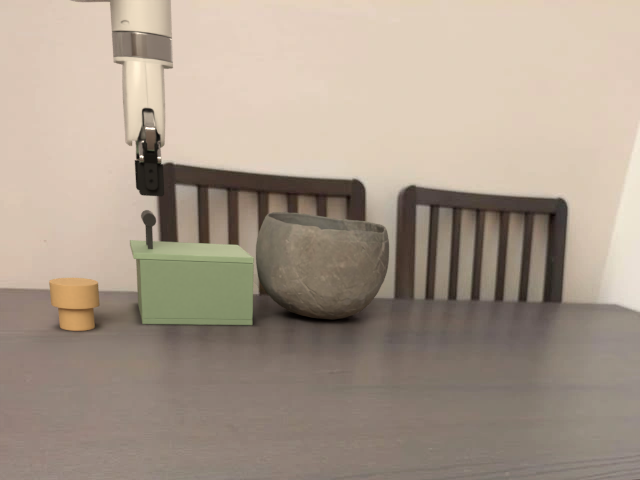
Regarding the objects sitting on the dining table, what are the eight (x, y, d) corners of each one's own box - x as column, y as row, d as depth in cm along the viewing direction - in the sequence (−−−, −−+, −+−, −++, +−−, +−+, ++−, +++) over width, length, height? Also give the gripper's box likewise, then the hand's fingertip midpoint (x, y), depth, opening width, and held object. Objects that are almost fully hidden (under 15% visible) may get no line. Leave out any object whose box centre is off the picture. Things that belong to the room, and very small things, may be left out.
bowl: (251, 327, 106) (253, 218, 100) (256, 300, 125) (258, 207, 119) (390, 335, 109) (401, 229, 102) (375, 308, 127) (383, 217, 121)
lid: (133, 259, 99) (131, 215, 96) (130, 245, 110) (128, 206, 108) (253, 263, 104) (254, 222, 101) (238, 250, 115) (238, 212, 113)
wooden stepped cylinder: (44, 329, 95) (40, 282, 93) (66, 320, 101) (63, 276, 98) (88, 334, 95) (85, 287, 93) (108, 324, 100) (105, 280, 98)
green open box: (142, 324, 102) (139, 259, 99) (138, 304, 114) (135, 246, 111) (252, 325, 107) (253, 263, 104) (237, 306, 119) (238, 250, 115)
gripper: (111, 55, 101) (120, 187, 108) (113, 42, 86) (123, 196, 93) (167, 61, 104) (172, 190, 111) (178, 49, 89) (183, 199, 96)
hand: (149, 193), depth 102 cm, fingers open, 9 cm apart
